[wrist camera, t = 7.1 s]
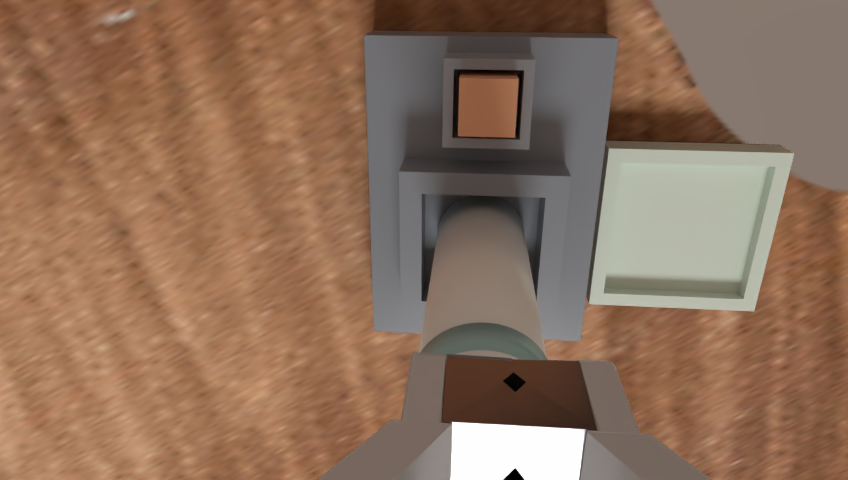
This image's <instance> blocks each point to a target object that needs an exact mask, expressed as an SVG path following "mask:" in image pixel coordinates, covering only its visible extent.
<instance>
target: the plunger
mask: <svg viewBox="0 0 848 480" xmlns="http://www.w3.org/2000/svg"><path fill="white" fill-rule="evenodd" d="M518 84H519V78H518V76H517V73H516V71H515V70H471V69H461V72H460V77H459V110H458V136H468V137H510V138H515V129H516V114H517V99H518Z"/></svg>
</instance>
